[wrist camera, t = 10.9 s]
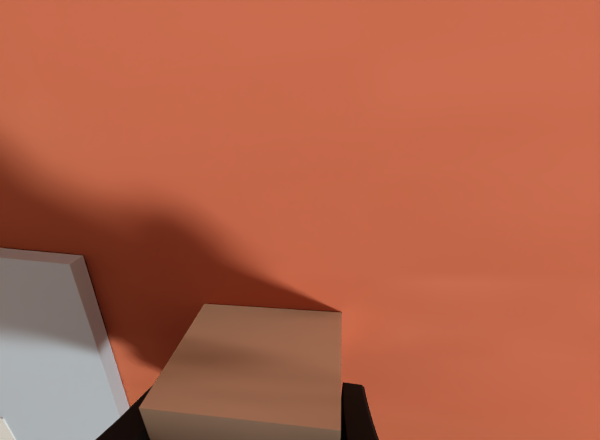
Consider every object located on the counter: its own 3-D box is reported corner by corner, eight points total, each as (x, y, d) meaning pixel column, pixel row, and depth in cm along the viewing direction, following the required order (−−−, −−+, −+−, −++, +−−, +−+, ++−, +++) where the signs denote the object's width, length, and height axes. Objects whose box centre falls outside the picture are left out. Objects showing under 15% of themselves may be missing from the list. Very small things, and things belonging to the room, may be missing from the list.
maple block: (338, 408, 13) (336, 538, 9) (222, 396, 13) (176, 514, 10) (341, 312, 11) (340, 430, 7) (204, 303, 11) (138, 407, 8)
